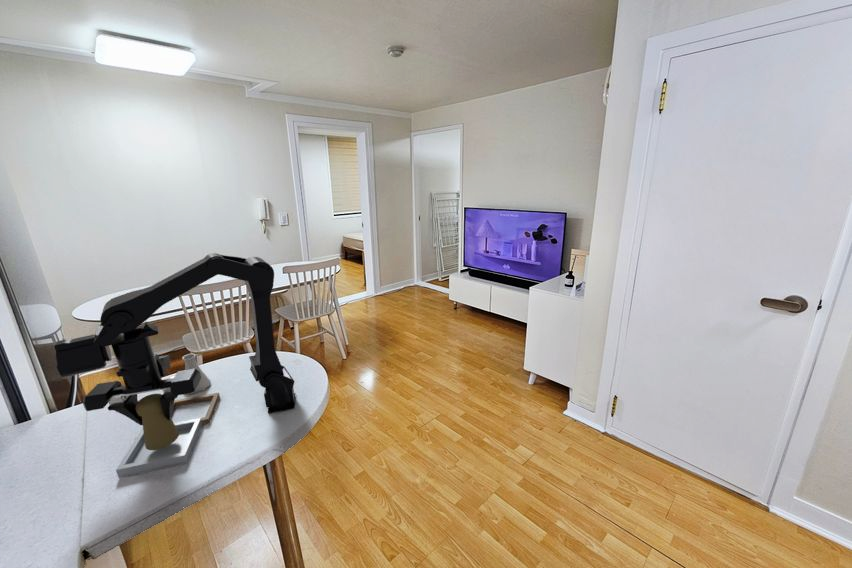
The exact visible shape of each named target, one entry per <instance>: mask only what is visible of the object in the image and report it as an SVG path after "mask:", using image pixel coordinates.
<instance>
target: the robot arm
mask: <svg viewBox="0 0 852 568" xmlns="http://www.w3.org/2000/svg"><path fill="white" fill-rule="evenodd" d="M216 276H223V277H228V278H232V279H237V280H240V281H243V282H244V284H245V286H246V287H245V288H246V289H247V291H248V295H249V296H250V297H249V298H250V303H251V304H250V305H251V311H252V321H253V330H254V337H255V345H256V346H255V347H256V349H255V354H254V355H249V356H248V359H249V362H250V368H249V370H250V373H251V374H252V376H253V378H254V381H256V382H258V383H259V385H260V386H261V387H262V388H265V389H264V393H263V396H264V403H265V407H266V408H267V413H268V414H273V413H279V412H282V411H283V412H284V411H288V410H293V409H295V408H296V397H295V395H297V394H296V392H295V389H294V386H295V380H294V378H293V377H292V375H291V374H290V373H289V371H288V370H287V368H286V367H285V366H284V365H282V364H281V362H280V359H279V356H278V354H277V352H276V345H275V336H274V334H275V333H274V324H273V316H272V315H273V313H272V304H271V295H272V293H273V292H272V291H273V289H274V282H275V281H274V280H275V270H274V268H273V267H272V266H271V264H269V263H268V262H266V260H264V259H263V258H261V257H259V256H250V257H248V258H244V257H238V256H232V255H223V254H219V253H217V252H212V253H208V254H207V255H205V256H204V257H203V258H201V259H200V260H198V261H195V262H194V263H192V264H190V265H188V266H187V267H185V268H183V269H180V270H178V271H177V272H175V273H173V274H172V275H170V276H167V277H165V278H164V279H162V280H159V281H158V282H156V283H154V284H152V285H150V286H148V287H145V288H142V289H141V288H140V289H137V290H133V291H130V292H126V293H123V294H121V295H118V296H115V297H113V298H111V299H109V300H108V301H107V302H106V303H105V304H104V306H103V309H102V312H101V314H100V324H99V325H98V326H97V328H96V330H95V333H94V334H90V335H85V336H80V337H76V338H67V339H61V340H57V341H56V342H55V343H54V346H53V347H54V350H55V359H56V363H57V364H56V369H57V371H58V373H59V375H60V376H61V378H64V379H66V378H70V377H73V376H77V375H80V374H85V373H89V372H92V371H97V370H100V369H103V368H106V366H107V362H110V361H112V358H113V357H112V352H113V353H114V354H113V355H114V357H115V360H116V363H117V366H118V370H117V371H116V372H115V373H116V375H117V377H119V378H120V377H122V380H123V383H124V386H123V385H122V382H121V381H119V380H114V381H108V382H103V383H97V384H96V385H95V386H94V387H93V388H92V389H91V390H90V391H89V392H88V393H87V394H86V395H85V396H84V398H83V400H82V405H83V408H84V410H85V411H87V412H91V411H97V410H101V409H104V408H105V407H106V406H107V405H109V406H108V407H107V410H108V411H115V412H116V413H119V414H120V415H123V416H124V417H126V418H128V419H130V420H131V421H133V422H134V423H135V424H137V425H139V426H143V424H142V416H139V415H138V414H137V412H136V404H137V402H138V401H139V400H138V395H139V394H145V393H151V392H157V391H158V392H159V391H162V392H163V394H162V397H161V398H160V400H159V401H160V403H161V406H162V409H163V411H164V414H165V416H166V418H167V419H168V420H170V419H172V417H173V414H172V412H173V406H174V400H177V399H178V397H179V396H182V395H189V394H188V393H192V392H194V391H195V390H196V388H197V386H198V384H199V382H200V380H201V374H200V371H198V370H197V369H189V370H185V369H184V370H179V371H177V372H176V374H175V375H174V376H171V377H167V378H166V379H162V377H165V376H166V375H167V370H171V368H172V367H171V359H170V355H169V354H168V355H167V354H166V355H160V356H159V355H158V353H154V350H153V347H152V343H151V340H150V337H153V336H158V334H159V326H158V325H156V324H151V323H150V322H149V321H147V320H148V319H149V318H151V316H153V315H154V314H155V313H156V312H157V311H158V310H159V309H160V308H162V306H164V305H165V304H167V303H169V302H171V301H173V300H175V299H177V298H178V297H180V296H182V295H184V294H185V293H187V292H188V291H191V290H193V289H194V288H196V287H198V286H200V285H201V284H203V283H206V282H207V281H209V280H211V279H212V278H214V277H216ZM140 325H141V326H140ZM110 346H111V348H112V352H111V348H110ZM173 413H174V412H173Z"/></svg>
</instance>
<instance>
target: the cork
mask: <svg viewBox="0 0 852 568" xmlns="http://www.w3.org/2000/svg"><path fill="white" fill-rule="evenodd" d="M162 395H163V394H161V393H151V394H147V395H146V396H144V397H142V398H140V399H139V400H138V402H137V404H136V412H137V414H138V415H139V416H142V424H143V425H142V429H143V432H144V439H145V447H146V449H148V450H159V449H162V448H165V447H167V446H169V445H170V444H172V443H173V442H174V441H175V440H176V439H177V438H178V436H179V432H178V430H177V428H176V427H175V425H174V423H175V422H174V421H173V419H172V418H171V419H170V420H168V419H167V418H166V416H165V414H164V411H163V409H162V406H161V403H160V401H159V400H160V398H161V397H162Z"/></svg>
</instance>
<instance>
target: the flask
mask: <svg viewBox="0 0 852 568" xmlns="http://www.w3.org/2000/svg"><path fill="white" fill-rule="evenodd" d="M181 358H182V361H183V362H184V366H185V367H184V370H189V369H197V370H198V371H200V374H201V380H200V382H199V384H198V386H197V388H196V390H195V391H194V392H192V393H188V394H187V395H193V394H195V393H199V392H202V391H204V390H206V389H207V388H208V387H210V386H211V385H212V382H211V379H210V378H209V377H208V376H207V374H206V373H205V372H204V371H203V370H202V369H201V367H200V366H199V364H198V363H197V360H196V354H195V353H192V352H191V353H188V354H185V355H183V356H182V357H181Z"/></svg>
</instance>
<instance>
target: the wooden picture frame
mask: <svg viewBox="0 0 852 568" xmlns="http://www.w3.org/2000/svg"><path fill="white" fill-rule="evenodd" d="M220 398H221V396H220V392H213V393H208V394H203V395H197V396H192V397H184V398H180V399H175V400H174V406H173V412H172V415H173V414H174V412H175V411H176V409H177V408H178V407H183V406H190V405H195V404H200V403H206V402H207V403H208V402H210V404H209V406H208V409H207V411H206V414H205V416H204V417H200V418H201V421H202V424H203V426H207V425H210V424H211V422H212V420H213V417H214V414H215V411H216V408H217V406H218V403H219V401H220Z"/></svg>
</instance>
